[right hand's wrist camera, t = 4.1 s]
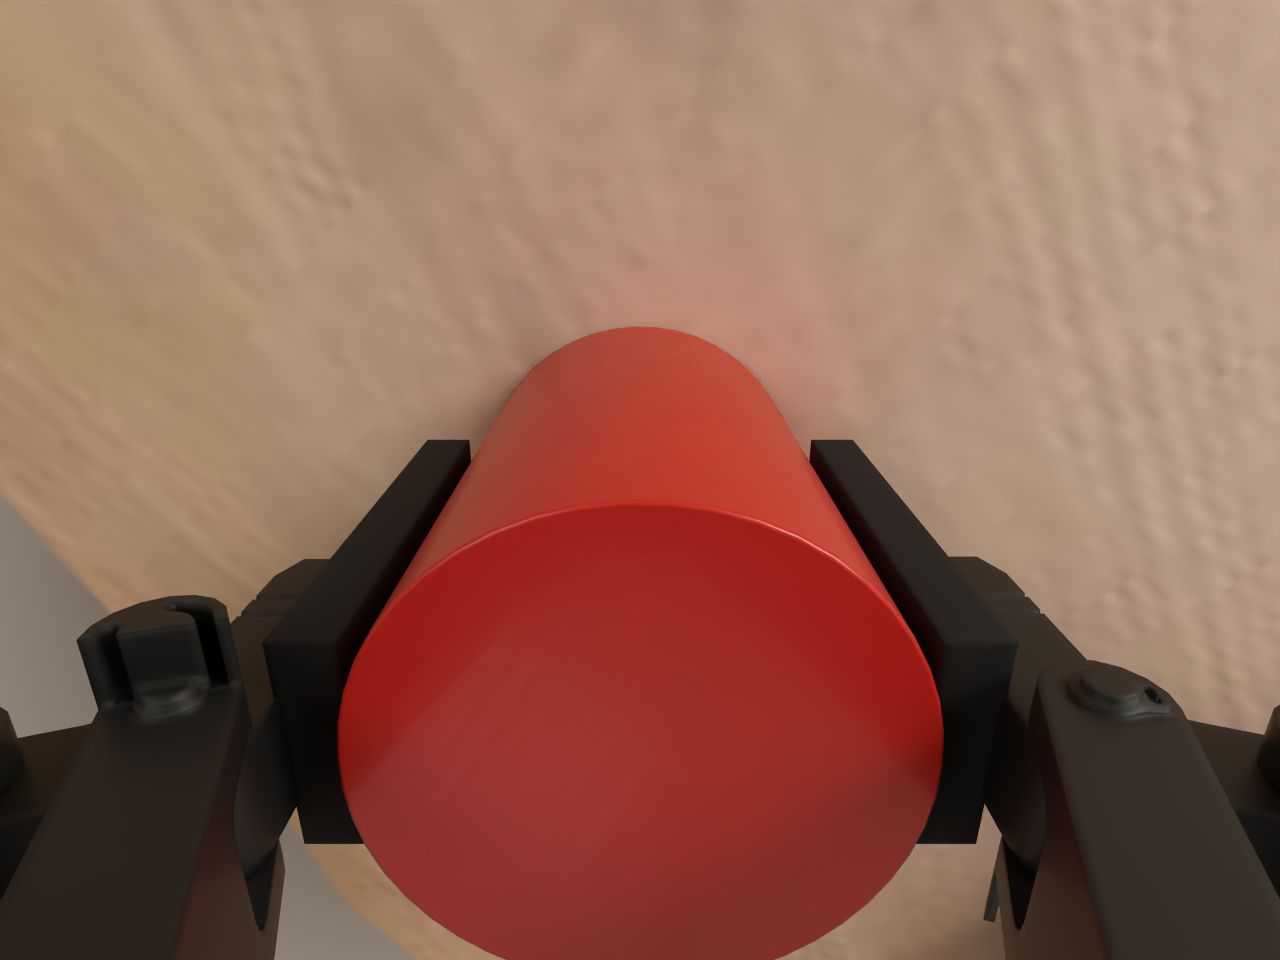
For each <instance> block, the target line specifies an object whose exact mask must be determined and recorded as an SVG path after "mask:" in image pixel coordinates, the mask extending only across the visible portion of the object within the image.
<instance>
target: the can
mask: <svg viewBox="0 0 1280 960" xmlns="http://www.w3.org/2000/svg"><path fill="white" fill-rule="evenodd" d="M943 742H944V729H943V721H942V714H941V706H940V699H939V696H938V693H937V689H936V686H935V683H934V679H933V676H932V673H931V669H930V667H929V665H928V663H927V661H926V659H925V657H924V655H923V653H922V651H921V649H920V646H919V644H918V642H917V640H916V638H915V636H914V635H913V633H912V631H911V630H910V628H909V626H908V625H907V623H906V621H905V620H904V618H903V616H902V615H901V613H900V612H899V610H898V608H897V607H896V605H895V603H894V602H893V600H892V598H891V597H890V595H889V593H888V592H887V590H886V588H885V587H884V585H883V583H882V582H881V580H880V578H879V577H878V575H877V573H876V572H875V570H874V568H873V567H872V565H871V563H870V562H869V560H868V558H867V557H866V555H865V553H864V552H863V550H862V548H861V547H860V545H859V543H858V542H857V540H856V538H855V537H854V535H853V534H852V532H851V530H850V529H849V527H848V525H847V524H846V522H845V520H844V519H843V517H842V515H841V514H840V512H839V510H838V509H837V507H836V505H835V504H834V502H833V500H832V499H831V497H830V495H829V494H828V492H827V490H826V489H825V487H824V485H823V484H822V482H821V480H820V479H819V477H818V475H817V474H816V472H815V470H814V469H813V467H812V465H811V464H810V462H809V461H808V459H807V457H806V456H805V454H804V452H803V451H802V449H801V447H800V446H799V444H798V442H797V441H796V439H795V437H794V436H793V434H792V432H791V431H790V429H789V427H788V426H787V424H786V422H785V421H784V419H783V417H782V416H781V414H780V412H779V411H778V409H777V407H776V406H775V404H774V402H773V401H772V399H771V398H770V396H769V395H768V393H767V392H766V390H765V389H764V388H763V386H762V385H761V383H760V382H759V381H758V380H757V379H756V378H755V377H754V376H753V374H752V373H751V372H750V371H749V370H748V369H747V368H746V367H745V366H743V365H742V364H741V363H740V362H739V361H737V360H736V359H735V358H734V357H732V356H731V355H730V354H728V353H726V352H725V351H723V350H722V349H720V348H718V347H717V346H715V345H713V344H711V343H709V342H706V341H704V340H702V339H700V338H697V337H695V336H692V335H689V334H685V333H682V332H678V331H675V330H668V329H662V328H655V327H627V328H618V329H611V330H607V331H603V332H599V333H595V334H591V335H588V336H586V337H583V338H581V339H578V340H576V341H573V342H571V343H569V344H568V345H566V346H564V347H562V348H561V349H559V350H557V351H555V352H554V353H552V354H551V355H550V356H548V357H547V358H546V359H544V360H543V361H542V362H540V363H539V364H538V365H537V366H536V367H535V368H534V369H533V370H532V371H531V372H530V373H529V374H528V375H527V376H526V377H525V378H524V379H523V380H522V382H521V383H520V384H519V386H518V387H517V388H516V389H515V391H514V392H513V393H512V395H511V397H510V398H509V400H508V402H507V403H506V405H505V407H504V408H503V410H502V412H501V413H500V415H499V417H498V418H497V420H496V422H495V423H494V425H493V427H492V428H491V430H490V432H489V433H488V435H487V437H486V438H485V440H484V442H483V443H482V445H481V447H480V448H479V450H478V452H477V453H476V455H475V457H474V458H473V460H472V462H471V463H470V465H469V467H468V468H467V470H466V472H465V473H464V475H463V477H462V478H461V480H460V482H459V483H458V485H457V487H456V488H455V490H454V492H453V493H452V495H451V497H450V498H449V500H448V502H447V503H446V505H445V507H444V508H443V510H442V512H441V513H440V515H439V517H438V518H437V520H436V522H435V523H434V525H433V527H432V528H431V530H430V532H429V533H428V535H427V537H426V538H425V540H424V542H423V543H422V545H421V547H420V548H419V550H418V552H417V553H416V555H415V557H414V558H413V560H412V562H411V563H410V565H409V567H408V568H407V570H406V572H405V573H404V575H403V577H402V578H401V580H400V582H399V583H398V585H397V587H396V588H395V590H394V592H393V593H392V595H391V597H390V598H389V600H388V602H387V603H386V605H385V607H384V608H383V610H382V612H381V613H380V615H379V617H378V618H377V620H376V622H375V623H374V625H373V627H372V628H371V630H370V632H369V634H368V635H367V637H366V639H365V641H364V643H363V645H362V646H361V648H360V650H359V652H358V654H357V655H356V657H355V659H354V662H353V665H352V668H351V670H350V673H349V676H348V679H347V682H346V685H345V687H344V690H343V695H342V701H341V706H340V712H339V718H338V723H337V758H338V765H339V771H340V777H341V783H342V789H343V793H344V796H345V799H346V802H347V805H348V808H349V811H350V814H351V817H352V820H353V822H354V824H355V826H356V828H357V830H358V832H359V834H360V836H361V838H362V840H363V842H364V844H365V846H366V847H367V849H368V850H369V852H370V853H371V855H372V856H373V857H374V859H375V860H376V862H377V863H378V865H379V866H380V868H381V869H382V870H383V872H384V873H385V874H386V875H387V877H388V878H389V879H390V880H391V881H392V882H393V883H394V884H395V885H396V886H397V888H398V889H399V890H400V891H401V892H402V893H403V894H404V895H405V896H406V897H407V898H408V899H409V900H410V901H411V902H413V903H414V904H415V905H416V906H417V907H418V908H420V909H421V910H422V911H423V912H424V913H425V914H427V915H428V916H429V917H430V918H431V919H433V920H434V921H436V922H437V923H439V924H440V925H442V926H443V927H445V928H446V929H448V930H449V931H451V932H452V933H454V934H455V935H456V936H458V937H460V938H462V939H464V940H466V941H467V942H469V943H471V944H473V945H475V946H477V947H479V948H481V949H483V950H484V951H486V952H489V953H491V954H493V955H496V956H498V957H501V958H503V959H506V960H775V959H778V958H780V957H783V956H786V955H788V954H790V953H792V952H794V951H796V950H798V949H800V948H802V947H804V946H806V945H808V944H810V943H812V942H814V941H816V940H817V939H819V938H820V937H822V936H824V935H825V934H827V933H828V932H830V931H832V930H833V929H835V928H836V927H838V926H839V925H841V924H843V923H844V922H845V921H846V920H848V919H849V918H850V917H851V916H853V915H854V914H855V913H856V912H858V911H859V910H860V909H861V908H863V907H864V906H865V905H866V904H868V903H869V902H870V901H871V900H872V899H873V898H874V897H875V896H876V894H877V893H878V892H879V891H880V890H881V889H882V888H883V887H884V886H885V885H886V884H887V883H888V882H889V881H890V880H891V879H892V878H893V876H894V875H895V874H896V872H897V871H898V870H899V868H900V867H901V866H902V864H903V863H904V862H905V860H906V859H907V858H908V856H909V855H910V853H911V852H912V850H913V848H914V846H915V844H916V843H917V841H918V839H919V837H920V835H921V833H922V832H923V830H924V828H925V826H926V823H927V821H928V818H929V815H930V813H931V810H932V807H933V805H934V802H935V799H936V796H937V791H938V786H939V781H940V776H941V771H942V766H943Z"/></svg>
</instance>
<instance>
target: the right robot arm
mask: <svg viewBox="0 0 1280 960" xmlns="http://www.w3.org/2000/svg"><path fill="white" fill-rule="evenodd" d="M809 462H810V464H811V465H812V467H813V469H814V470H815V472H816V474H817V475H818V477H819V479H820V480H821V482H822V484H823V485H824V487H825V489H826V490H827V492H828V494H829V495H830V497H831V499H832V500H833V502H834V504H835V505H836V507H837V509H838V510H839V512H840V514H841V515H842V517H843V519H844V520H845V522H846V524H847V525H848V527H849V529H850V530H851V532H852V534H853V535H854V537H855V538H856V540H857V542H858V543H859V545H860V547H861V548H862V550H863V552H864V553H865V555H866V557H867V558H868V560H869V562H870V563H871V565H872V567H873V568H874V570H875V572H876V573H877V575H878V577H879V578H880V580H881V582H882V583H883V585H884V587H885V588H886V590H887V592H888V593H889V595H890V597H891V598H892V600H893V602H894V603H895V605H896V607H897V608H898V610H899V612H900V613H901V615H902V616H903V618H904V620H905V621H906V623H907V625H908V626H909V628H910V630H911V631H912V633H913V635H914V636H915V638H916V640H917V642H918V644H919V646H920V649H921V651H922V653H923V655H924V657H925V659H926V661H927V663H928V665H929V667H930V669H931V673H932V676H933V679H934V683H935V686H936V689H937V693H938V696H939V699H940V706H941V714H942V721H943V729H944V742H943V766H942V771H941V776H940V781H939V786H938V791H937V796H936V799H935V802H934V805H933V807H932V810H931V813H930V815H929V818H928V821H927V823H926V826H925V828H924V830H923V832H922V833H921V835H920V837H919V839H918V841H917V843H916V844H976V841H977V837H978V832H979V827H980V822H981V818H982V813H983V808H984V804H985V805H986V807H987V809H988V810H989V812H990V814H991V816H992V818H993V819H994V821H995V823H996V825H997V827H998V829H999V830H1000V832H1001V834H1002V836H1001V841H1000V845H999V849H998V854H997V858H996V863H995V867H994V871H993V876H992V880H991V884H990V889H989V893H988V898H987V902H986V908H985V914H984V920H987V921H991V922H995V917H996V913H997V909H998V906H999V905H1000V913H1001V921H1002V929H1003V938H1004V946H1005V954H1006V960H1280V705H1279V706H1277V707H1276V708H1274V710H1273V713H1272V716H1271V718H1270V721H1269V724H1268V726H1267V729H1266V732H1265V735H1262V734H1256V733H1251V732H1246V731H1241V730H1236V729H1231V728H1225V727H1220V726H1215V725H1210V724H1205V723H1199V722H1195V721H1191V720H1187V718H1186V716H1185V714H1184V712H1183V711H1182V709H1181V708H1180V706H1179V705H1178V704H1177V703H1176V702H1175V700H1174V699H1173V698H1172V697H1171V696H1170V694H1169V693H1167V692H1166V691H1165V690H1163V689H1162V688H1160V687H1159V686H1157V685H1156V684H1154V683H1153V682H1151V681H1150V680H1148V679H1147V678H1144V677H1142V676H1140V675H1137V674H1135V673H1133V672H1131V671H1128V670H1126V669H1124V668H1121V667H1117V666H1114V665H1110V664H1106V663H1102V662H1098V661H1092V660H1086V658H1085V657H1084V656H1083V655H1082V654H1081V653H1080V652H1079V651H1078V650H1077V649H1076V648H1075V647H1074V646H1073V645H1072V643H1071V642H1070V641H1069V640H1068V639H1067V638H1066V637H1065V636H1064V635H1063V634H1062V633H1061V632H1060V631H1059V629H1058V628H1057V627H1056V626H1055V625H1054V624H1053V623H1052V622H1051V621H1050V620H1049V619H1048V618H1047V617H1046V616H1045V614H1040V609H1039V608H1038V607H1037V606H1036V605H1035V604H1034V603H1033V602H1032V601H1031V599H1030V598H1029V597H1025V593H1024V592H1023V591H1022V590H1021V589H1020V588H1019V587H1018V585H1017V584H1016V583H1015V582H1014V581H1013V580H1012V579H1011V578H1010V577H1009V576H1008V575H1007V574H1006V573H1005V572H1003V571H1001V570H999V569H998V568H996V567H994V566H992V565H990V564H989V563H987V562H985V561H983V560H982V559H980V558H978V557H948V556H947V554H946V553H945V552H944V551H943V549H942V548H941V547H940V546H939V545H938V543H937V542H936V541H935V540H934V538H933V537H932V536H931V535H930V534H929V532H928V531H927V530H926V529H925V527H924V526H923V525H922V524H921V523H920V521H919V520H918V519H917V518H916V516H915V515H914V514H913V513H912V512H911V510H910V509H909V508H908V507H907V505H906V504H905V503H904V502H903V501H902V499H901V498H900V497H899V496H898V494H897V493H896V492H895V491H894V490H893V488H892V487H891V486H890V485H889V484H888V482H887V481H886V480H885V479H884V477H883V476H882V475H881V474H880V473H879V471H878V470H877V469H876V468H875V466H874V465H873V464H872V463H871V462H870V460H869V459H868V458H867V457H866V455H865V454H864V453H863V452H862V451H861V449H860V448H859V447H858V446H857V444H856V443H855V442H854V441H853V440H811V449H810V461H809ZM470 463H471V455H470V443H469V440H427V441H426V443H425V444H424V445H423V446H422V448H421V449H420V450H419V451H418V452H417V454H416V455H415V456H414V457H413V459H412V460H411V461H410V462H409V463H408V465H407V466H406V467H405V468H404V470H403V471H402V472H401V473H400V474H399V476H398V477H397V478H396V479H395V480H394V482H393V483H392V484H391V485H390V487H389V488H388V489H387V490H386V491H385V493H384V494H383V495H382V496H381V498H380V499H379V500H378V501H377V502H376V504H375V505H374V506H373V507H372V509H371V510H370V511H369V512H368V513H367V515H366V516H365V517H364V518H363V520H362V521H361V522H360V523H359V524H358V526H357V527H356V528H355V529H354V531H353V532H352V533H351V534H350V535H349V537H348V538H347V539H346V540H345V542H344V543H343V544H342V545H341V546H340V548H339V549H338V550H337V551H336V553H335V554H334V555H333V556H332V557H331V559H304V560H302V561H300V562H298V563H297V564H295V565H293V566H291V567H290V568H288V569H286V570H284V571H283V572H281V573H279V574H277V575H276V576H274V577H273V578H272V580H271V581H270V582H269V583H268V584H267V585H266V586H265V587H264V588H263V589H262V590H261V591H260V593H259V594H258V595H257V598H256V600H252V601H251V602H250V603H249V604H248V606H247V607H246V608H245V609H244V610H243V611H242V612H241V616H237V617H236V619H235V620H234V621H233V622H232V623H231V624H230V621H229V617H228V613H227V608H226V606H225V605H224V604H222V603H221V602H219V601H218V600H216V599H215V598H210V597H204V596H198V595H185V596H169V597H164V598H160V599H155V600H151V601H146V602H141V603H139V604H136V605H133V606H130V607H128V608H125V609H122V610H120V611H117V612H114V613H112V614H111V615H109V616H107V617H105V618H104V619H102V620H100V621H98V622H97V623H95V624H93V625H91V626H90V627H89V628H88V629H87V630H86V631H85V632H84V633H83V634H82V635H81V636H80V637H79V638H78V639H77V643H78V647H79V650H80V653H81V656H82V659H83V662H84V666H85V669H86V672H87V675H88V678H89V681H90V685H91V688H92V691H93V694H94V697H95V700H96V703H97V707H98V712H97V714H96V716H95V718H94V720H93V722H92V723H91V724H87V725H83V726H78V727H73V728H68V729H63V730H58V731H52V732H47V733H42V734H37V735H32V736H27V737H22V738H17V735H16V733H15V730H14V727H13V725H12V722H11V719H10V716H9V714H8V712H7V711H6V710H4V709H3V708H1V707H0V960H274V956H275V948H276V940H277V932H278V924H279V915H280V907H281V899H282V891H283V883H284V875H285V866H284V860H283V854H282V849H281V845H280V841H279V837H280V835H281V834H282V832H283V830H284V828H285V826H286V824H287V823H288V821H289V819H290V817H291V815H292V813H293V812H294V810H295V808H296V806H297V811H298V815H299V820H300V825H301V829H302V834H303V839H304V843H305V844H364V842H363V840H362V838H361V836H360V834H359V832H358V830H357V828H356V826H355V824H354V822H353V820H352V817H351V814H350V811H349V808H348V805H347V802H346V799H345V796H344V793H343V789H342V783H341V777H340V771H339V765H338V758H337V723H338V718H339V712H340V706H341V701H342V695H343V690H344V687H345V685H346V682H347V679H348V676H349V673H350V670H351V668H352V665H353V662H354V659H355V657H356V655H357V654H358V652H359V650H360V648H361V646H362V645H363V643H364V641H365V639H366V637H367V635H368V634H369V632H370V630H371V628H372V627H373V625H374V623H375V622H376V620H377V618H378V617H379V615H380V613H381V612H382V610H383V608H384V607H385V605H386V603H387V602H388V600H389V598H390V597H391V595H392V593H393V592H394V590H395V588H396V587H397V585H398V583H399V582H400V580H401V578H402V577H403V575H404V573H405V572H406V570H407V568H408V567H409V565H410V563H411V562H412V560H413V558H414V557H415V555H416V553H417V552H418V550H419V548H420V547H421V545H422V543H423V542H424V540H425V538H426V537H427V535H428V533H429V532H430V530H431V528H432V527H433V525H434V523H435V522H436V520H437V518H438V517H439V515H440V513H441V512H442V510H443V508H444V507H445V505H446V503H447V502H448V500H449V498H450V497H451V495H452V493H453V492H454V490H455V488H456V487H457V485H458V483H459V482H460V480H461V478H462V477H463V475H464V473H465V472H466V470H467V468H468V467H469V465H470Z"/></svg>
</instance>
